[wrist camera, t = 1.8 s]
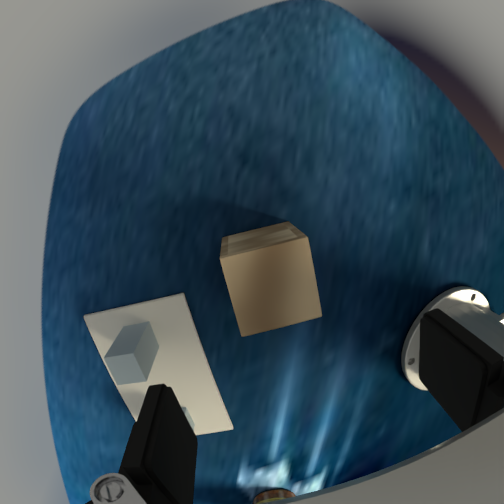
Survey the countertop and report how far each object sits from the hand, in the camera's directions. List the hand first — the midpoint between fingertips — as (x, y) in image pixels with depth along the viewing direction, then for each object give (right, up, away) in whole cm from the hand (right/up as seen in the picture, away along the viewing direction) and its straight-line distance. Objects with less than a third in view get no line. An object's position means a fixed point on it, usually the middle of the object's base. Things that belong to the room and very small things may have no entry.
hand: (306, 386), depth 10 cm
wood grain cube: (-1, +4, +16) cm, 16 cm away
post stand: (-11, -7, +18) cm, 22 cm away
